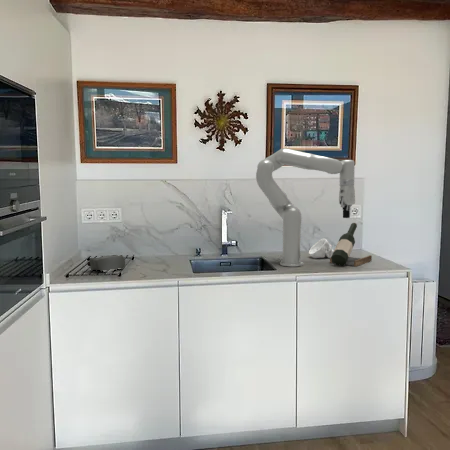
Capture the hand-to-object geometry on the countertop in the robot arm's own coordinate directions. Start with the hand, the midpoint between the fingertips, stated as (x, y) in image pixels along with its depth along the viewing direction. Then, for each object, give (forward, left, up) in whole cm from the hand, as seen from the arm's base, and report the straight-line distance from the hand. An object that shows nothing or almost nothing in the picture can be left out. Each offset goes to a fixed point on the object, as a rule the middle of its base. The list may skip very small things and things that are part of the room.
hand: (346, 217), depth 237 cm
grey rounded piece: (-90, -90, -26) cm, 130 cm away
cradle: (0, +7, -25) cm, 26 cm away
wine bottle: (0, -8, -22) cm, 23 cm away
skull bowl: (-19, +9, -26) cm, 33 cm away
